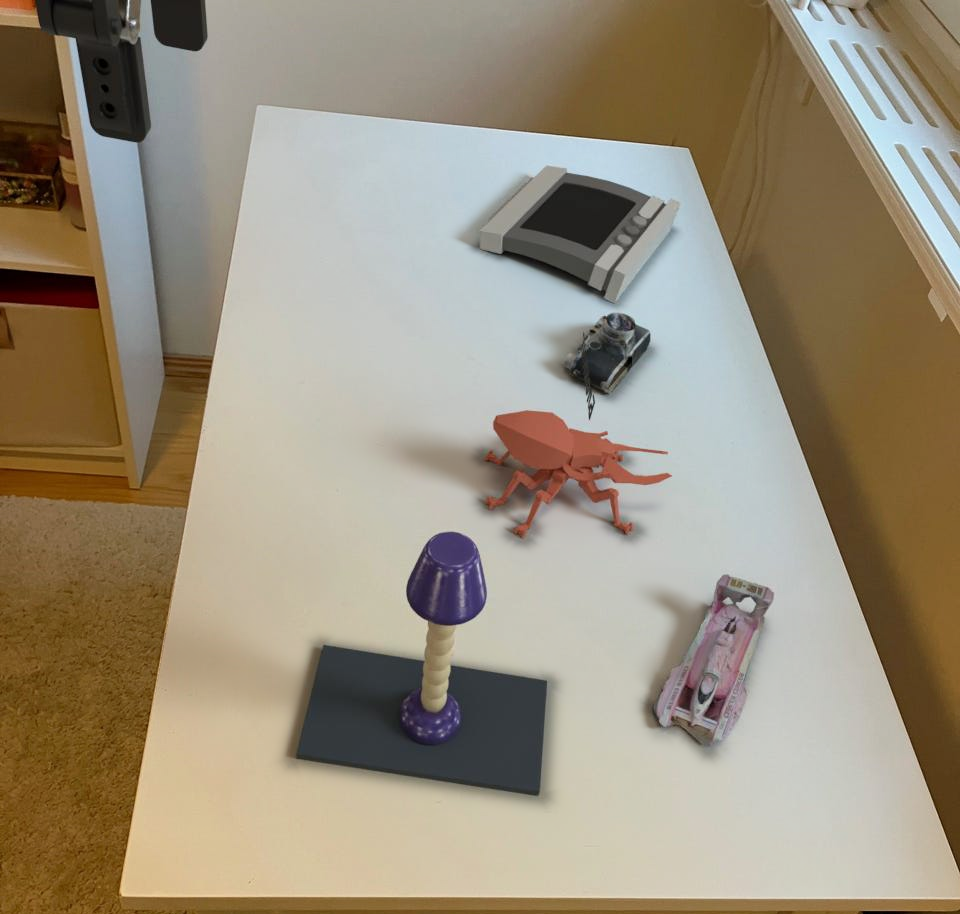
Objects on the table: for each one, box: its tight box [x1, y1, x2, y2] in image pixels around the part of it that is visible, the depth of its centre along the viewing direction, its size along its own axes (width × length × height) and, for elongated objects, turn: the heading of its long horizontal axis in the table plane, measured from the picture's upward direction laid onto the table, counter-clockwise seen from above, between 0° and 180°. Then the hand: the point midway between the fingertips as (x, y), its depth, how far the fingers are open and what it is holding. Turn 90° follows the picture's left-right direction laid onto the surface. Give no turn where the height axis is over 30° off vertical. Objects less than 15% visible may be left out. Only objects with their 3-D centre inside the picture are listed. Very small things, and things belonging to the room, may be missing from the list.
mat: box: [296, 644, 548, 797], centre depth 68 cm, size 16×9×1 cm, turn 84°
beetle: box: [483, 331, 673, 539], centre depth 79 cm, size 15×12×13 cm
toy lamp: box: [399, 531, 488, 745], centre depth 61 cm, size 5×5×17 cm
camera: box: [563, 312, 651, 394], centre depth 93 cm, size 5×10×4 cm, turn 149°
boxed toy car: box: [653, 574, 775, 747], centre depth 72 cm, size 13×6×4 cm, turn 155°
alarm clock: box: [479, 165, 682, 304], centre depth 106 cm, size 17×5×16 cm
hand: (153, 88), depth 42 cm, fingers open, 8 cm apart
